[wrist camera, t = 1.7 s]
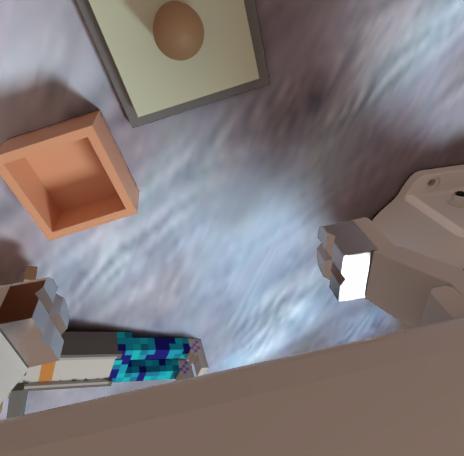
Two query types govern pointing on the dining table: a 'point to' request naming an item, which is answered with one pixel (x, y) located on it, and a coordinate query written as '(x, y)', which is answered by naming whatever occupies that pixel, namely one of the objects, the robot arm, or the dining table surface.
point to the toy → (108, 362)
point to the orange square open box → (69, 175)
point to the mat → (138, 121)
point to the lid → (177, 48)
